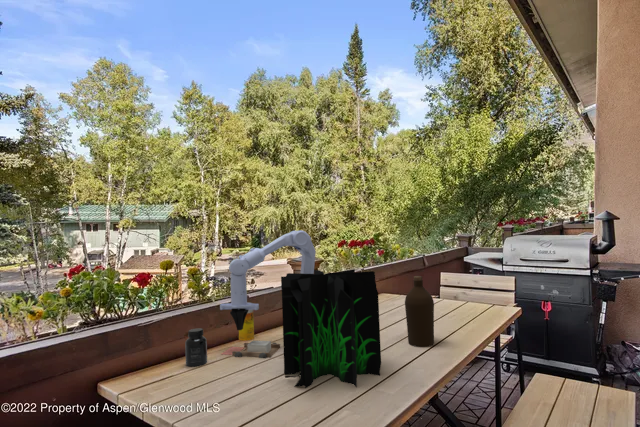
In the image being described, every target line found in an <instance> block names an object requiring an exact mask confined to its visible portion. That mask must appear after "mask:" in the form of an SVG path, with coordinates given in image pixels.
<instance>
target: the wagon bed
mask: <svg viewBox="0 0 640 427" xmlns="http://www.w3.org/2000/svg"><path fill="white" fill-rule="evenodd" d="M249 343H250V342H245V343H243V347H245V348H244V349H243V350H241V351H233V352H232V355H231V356H232V357H234V358H242V357H243V358H245V357H246V358H258V359H267V358H268V359H270V358H271V357H273V356H274V355H275V354H276V353H277V352H278V351H279V350H280V349H281V343H276V342H271V351H270V352H269V353H267V352H248V347H247V345H248V344H249Z"/></svg>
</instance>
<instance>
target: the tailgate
mask: <svg viewBox="0 0 640 427" xmlns="http://www.w3.org/2000/svg"><path fill="white" fill-rule="evenodd" d="M245 349H246V347H244V346H230V347H229V348H228V349H226V350H225V351H223V352H222V353H220V355H225V356H226V355H227V356H232V352H233V351H241V352H242V351H243V350H245Z"/></svg>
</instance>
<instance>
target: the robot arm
mask: <svg viewBox="0 0 640 427" xmlns="http://www.w3.org/2000/svg"><path fill="white" fill-rule="evenodd" d="M283 247H292V248H295V249H296V250H297V251H298V253H300V254H301V264H300V274H314V270H315V264H316V262H315V261H316V253H317V252H316V248H315V247H314V244H313V242H312V237H311V236H310V235H309V234H308V233H307V231H305V230H301V229H300V230H292V231H290V232H287V233H285V234H282V235H281V236H280V237H278V238H276V239H274V240H273V241H271V242H270V243H268V244H266V245H264V246H263V247H261V248H259V247H255V248H253V247H252V248H250V249H249V251H248V252H247V253H245V254H243V255H241V254H239V256H238V258H235V259H233V260H231V261H230V263H229V267H228V270H229V272H230V279H229V280H230V281H229V282H230V303H226V302H225V303H221V304H219V310H220V311H223V310H231V311H230V315H231V317H232V319H233V321H234V323H235V328H236V330H237V331H239V330H242V329H243V325H244V321H245V317H246V315H247V313H248V310H253V311H258V310H259V309H260V306H259V305H260V304H259V303H253V302H248V294H247V293H248V290H247V276H246V274H247V271H248V270H251V269H252V268H254V267H255V266H258V265H259V264H260V263H262V262H264V261H265V258H266V256H268V255H270V254H272V253H273V252H275V251H277V250H278V249H280V248H283Z"/></svg>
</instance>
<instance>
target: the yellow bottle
mask: <svg viewBox="0 0 640 427" xmlns="http://www.w3.org/2000/svg"><path fill="white" fill-rule="evenodd" d="M254 323H255V319H254V310H248V313H247V315H246V317H245V321H244V325H243V329H242V330H238V340H239V341H244V342H247V341H253V340H254V339H255V327H254V326H255V324H254Z"/></svg>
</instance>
